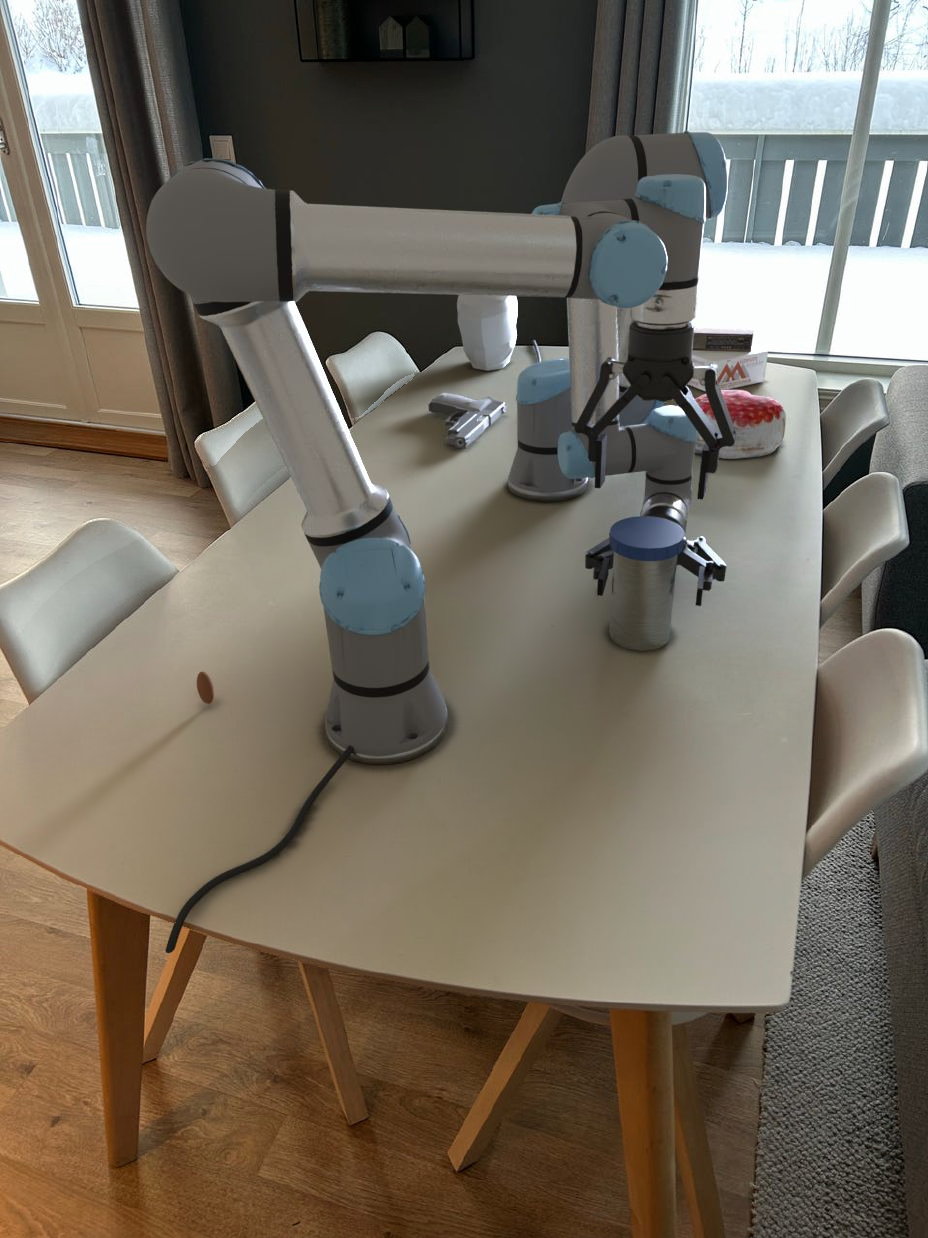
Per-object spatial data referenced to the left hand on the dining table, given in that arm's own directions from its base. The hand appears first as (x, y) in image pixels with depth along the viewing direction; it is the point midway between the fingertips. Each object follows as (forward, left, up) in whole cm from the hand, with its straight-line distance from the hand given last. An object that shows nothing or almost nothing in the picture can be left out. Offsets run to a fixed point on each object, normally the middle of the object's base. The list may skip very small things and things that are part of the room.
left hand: (649, 489), depth 118 cm
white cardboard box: (+122, -13, -22) cm, 125 cm away
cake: (+80, -15, -22) cm, 84 cm away
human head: (+129, +46, -22) cm, 139 cm away
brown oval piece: (-25, +55, -22) cm, 64 cm away
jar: (0, 0, -22) cm, 22 cm away
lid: (0, 0, -6) cm, 6 cm away
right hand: (+1, -1, -16) cm, 16 cm away
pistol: (+81, +45, -22) cm, 95 cm away
